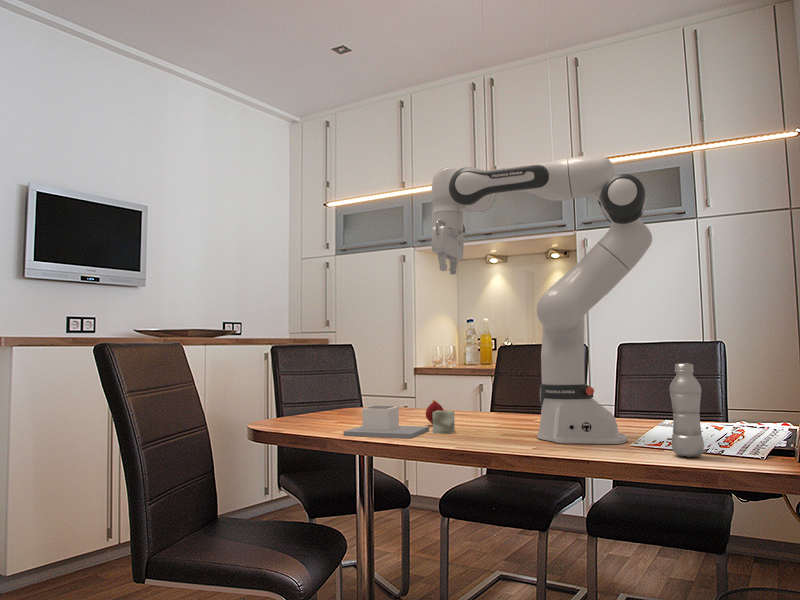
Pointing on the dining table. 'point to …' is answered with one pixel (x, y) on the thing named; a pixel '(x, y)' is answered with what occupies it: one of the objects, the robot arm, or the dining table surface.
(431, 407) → the onion
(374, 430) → the build base
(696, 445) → the plastic bottle
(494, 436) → the dining table surface
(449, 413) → the sage block
